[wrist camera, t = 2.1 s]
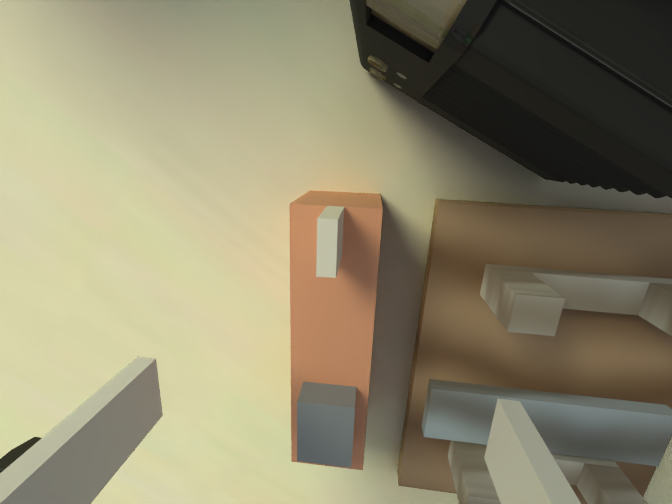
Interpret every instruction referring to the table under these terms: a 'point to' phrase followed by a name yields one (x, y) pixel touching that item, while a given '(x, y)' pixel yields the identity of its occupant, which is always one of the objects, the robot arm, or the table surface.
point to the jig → (543, 346)
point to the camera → (538, 80)
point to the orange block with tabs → (332, 323)
